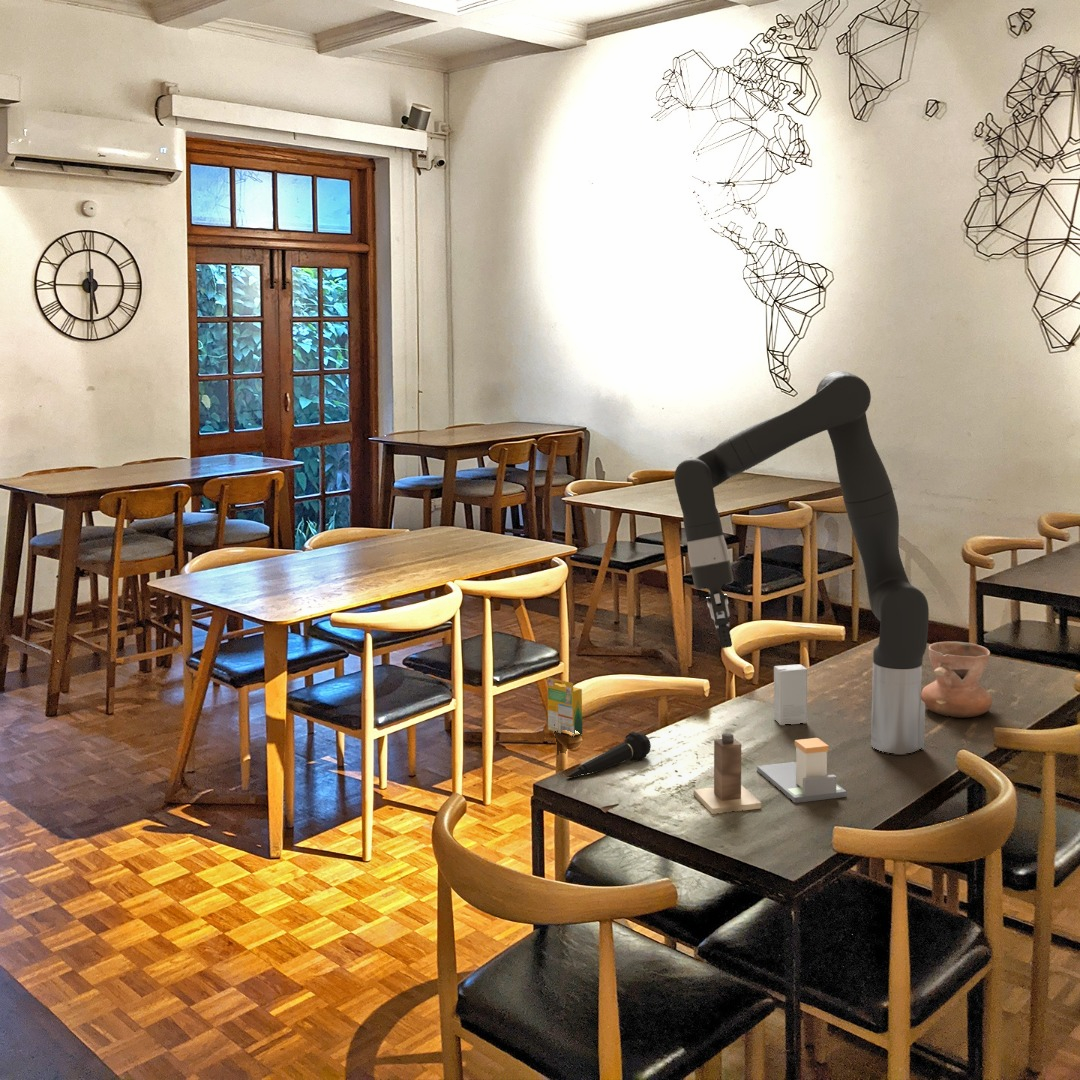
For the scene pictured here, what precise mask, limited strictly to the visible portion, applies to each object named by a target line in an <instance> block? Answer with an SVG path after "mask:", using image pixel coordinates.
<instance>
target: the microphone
mask: <svg viewBox="0 0 1080 1080" xmlns="http://www.w3.org/2000/svg"><path fill="white" fill-rule="evenodd" d="M651 748H652V743H651V742H650V738H649V737H648V736H647V735H646V734H645V733H642V732H635V731H631V732H629V733H628V734H627V735H625V739H624V741H623V742H622V743H620V744H618V745H616V746H614V747H613V748H612V747H611V748H610V749H609V750H606V751H604V752H603V753H601V754H600V755H597V756H596V757H594V758H592V759H590V760H588V761H586V762H585V763H583V764H581V765H580V766H578V768H577V769H575V770H574V771H572V772H571V773H569V774H568V775H566V778H567V777H574V776H578V775H581V774H584V776H586V775H585V774H587V773H592V772H595V773H597V772H596V771H598V772H600V770H601V771H603V770H605V768H606V769H609V768H611V767H613V766H616V765H618V764H621V763H623V762H626V761H629V760H631V759H633V760H638V761H641V760H644V759H646V758H647V755H648V754H649V753H650V752H651ZM592 774H593V773H592ZM581 776H582V775H581Z"/></svg>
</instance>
